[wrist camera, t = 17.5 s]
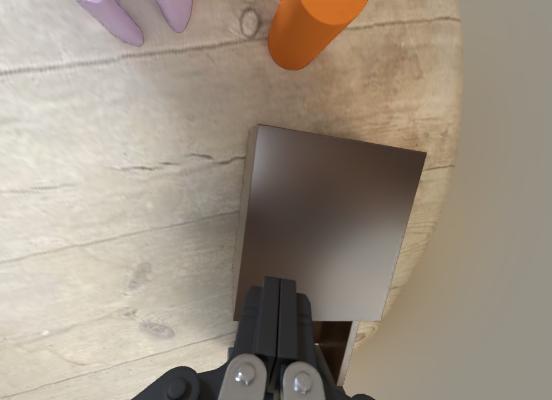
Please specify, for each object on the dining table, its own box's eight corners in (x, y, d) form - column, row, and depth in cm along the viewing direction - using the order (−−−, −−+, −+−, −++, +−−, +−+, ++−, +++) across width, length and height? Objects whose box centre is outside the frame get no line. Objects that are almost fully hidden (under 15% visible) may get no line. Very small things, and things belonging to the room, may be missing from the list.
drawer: (320, 359, 32) (342, 415, 26) (226, 363, 30) (225, 425, 23) (344, 251, 29) (377, 284, 23) (241, 245, 26) (244, 279, 20)
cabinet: (340, 272, 31) (380, 321, 23) (232, 268, 28) (232, 321, 20) (368, 148, 27) (427, 152, 19) (249, 129, 25) (258, 123, 16)
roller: (311, 75, 24) (363, 33, 15) (264, 64, 23) (287, 13, 14) (320, 21, 23) (381, -60, 14) (271, 8, 22) (301, -89, 13)
